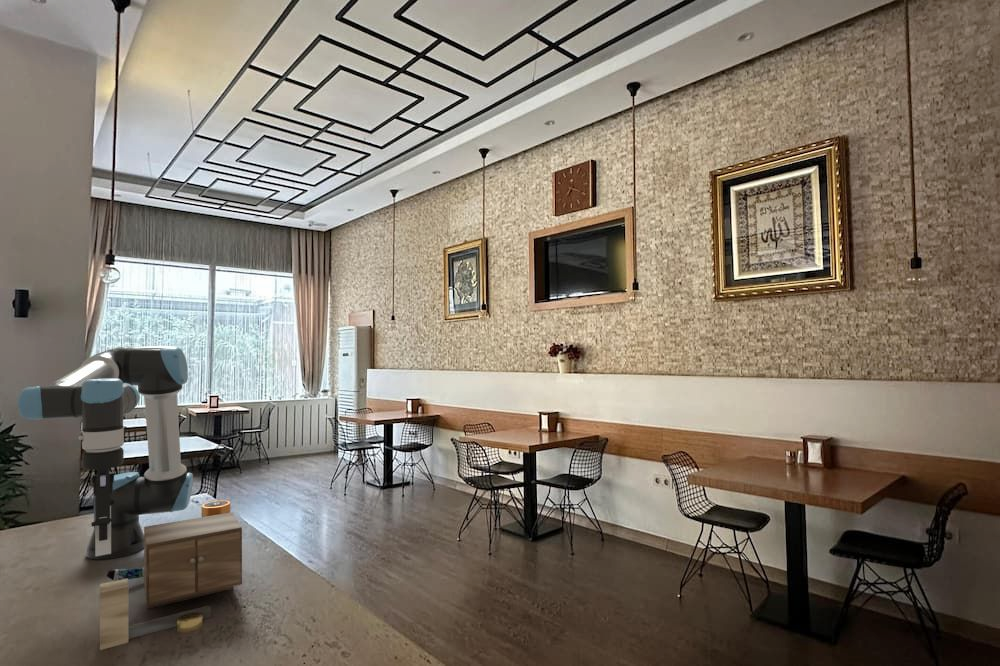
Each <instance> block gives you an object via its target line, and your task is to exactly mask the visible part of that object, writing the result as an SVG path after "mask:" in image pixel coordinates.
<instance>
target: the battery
mask: <svg viewBox="0 0 1000 666" xmlns="http://www.w3.org/2000/svg"><path fill="white" fill-rule="evenodd" d="M225 513H231V501H229V500H214V501H209V502H206V503H203V504H202V505H201V517H207V516H213V515H219V514H225Z"/></svg>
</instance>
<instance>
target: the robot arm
mask: <svg viewBox="0 0 1000 666" xmlns="http://www.w3.org/2000/svg"><path fill="white" fill-rule="evenodd" d="M188 370H189V369H188V363H187V358H186V355H185V354H184V352H183V350H182V348H180V347H177V346H168V345H167V346H166V345H157V346H156V345H154V346H152V345H151V346H119V347H116V348H115V347H114V348H111V349H107V350H104V351H101V352H98V353H96V354H94V355H92V356H90V357H88V358H86V359H85V360H83V362H82V363H81V364H80V366H79V367H77V368H76V369H75V370H73V371H71V372H69V373H68V374H65V376H63V377H61V378H59V379H57V380H55V381H54V382H52V383H51V384H49V385H46V386H44V385H43V386H42V385H41V386H40V385H37V386H29V387H25V388H23V389H22V390H21V391H20V393H19V396H18V398H17V399H18V400H17V410H18V413H19V416H21V418H23V419H25V420H38V421H39V420H40V421H43V420H57V419H58V420H59V419H73V418H75V419H76V418H77V419H78V418H81V431H82V432H81V434H82V435H78V440H79V441H81V447H82V450H84V451H83V452H82V453H81V467H82V469H84V470H86V471H89V470H90V471H92V470H95V471H96V474H92V477H91V478H92V479H91V485H92V487H93V488H92V489H93V496H92V498H93V522H91V527H93V531H92V534H91V536H90V539H89V542H88V544H87V547H86V557H87V559H89V560H90V559H91V560H110V559H116V558H121V557H125V556H129V555H132V554H135V553H138V552H139V551H142V550H144V530H143V529H142V526H141V524H140V516H142V515H153V514H163V513H174V512H179V511H184V510H185V509H187V508H188V506H189V505H190V501H191V496H192V491H193V484H194V474H193V472H188V470H187V466H186V465H185V464H183V463H182V460H181V458H182V457H181V443H180V438H181V437H180V426H179V420H180V419H179V405H178V403H179V402H178V394H179V392H181V390H182V389H183V385H185V384H186V383H187V382H188V379H189V375H188V374H189V372H188ZM135 386H137V388H136V387H135ZM140 395H141V396H143V397H144V407H145V423H146V435H147V436H146V437H147V450H148V466H149V468H148V469H147V470H146V471H145V472H144V474H143V476H140V474H139V473H140V472H138V471H129V472H124V473H118V474H115V472H111V468H117V467H119V466H122V464H124V462H125V460H124V457H125V454H124V451H125V450H124V449H125V448H123V445H124V443H125V440H124V439H125V437H124V435H125V432H124V431H125V428H124V416H125V415H126V414H129V413H130V412H132V411H133V410H134V409H135V408H136V407H137V406H138V404H139V402H140V398H141V397H140Z"/></svg>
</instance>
